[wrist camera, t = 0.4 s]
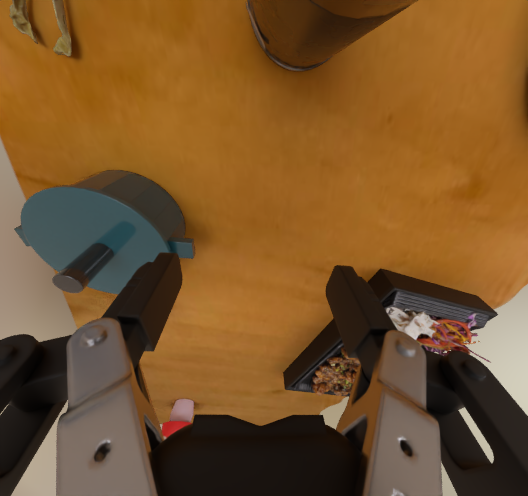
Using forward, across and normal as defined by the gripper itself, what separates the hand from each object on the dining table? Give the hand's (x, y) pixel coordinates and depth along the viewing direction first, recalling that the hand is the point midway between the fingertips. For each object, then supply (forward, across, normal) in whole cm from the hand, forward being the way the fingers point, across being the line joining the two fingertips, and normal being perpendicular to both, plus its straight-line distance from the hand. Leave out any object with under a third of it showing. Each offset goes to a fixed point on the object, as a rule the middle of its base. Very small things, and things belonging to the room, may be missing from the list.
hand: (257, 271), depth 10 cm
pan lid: (+11, +17, +8) cm, 22 cm away
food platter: (+18, -30, +39) cm, 53 cm away
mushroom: (+19, +19, +85) cm, 89 cm away
